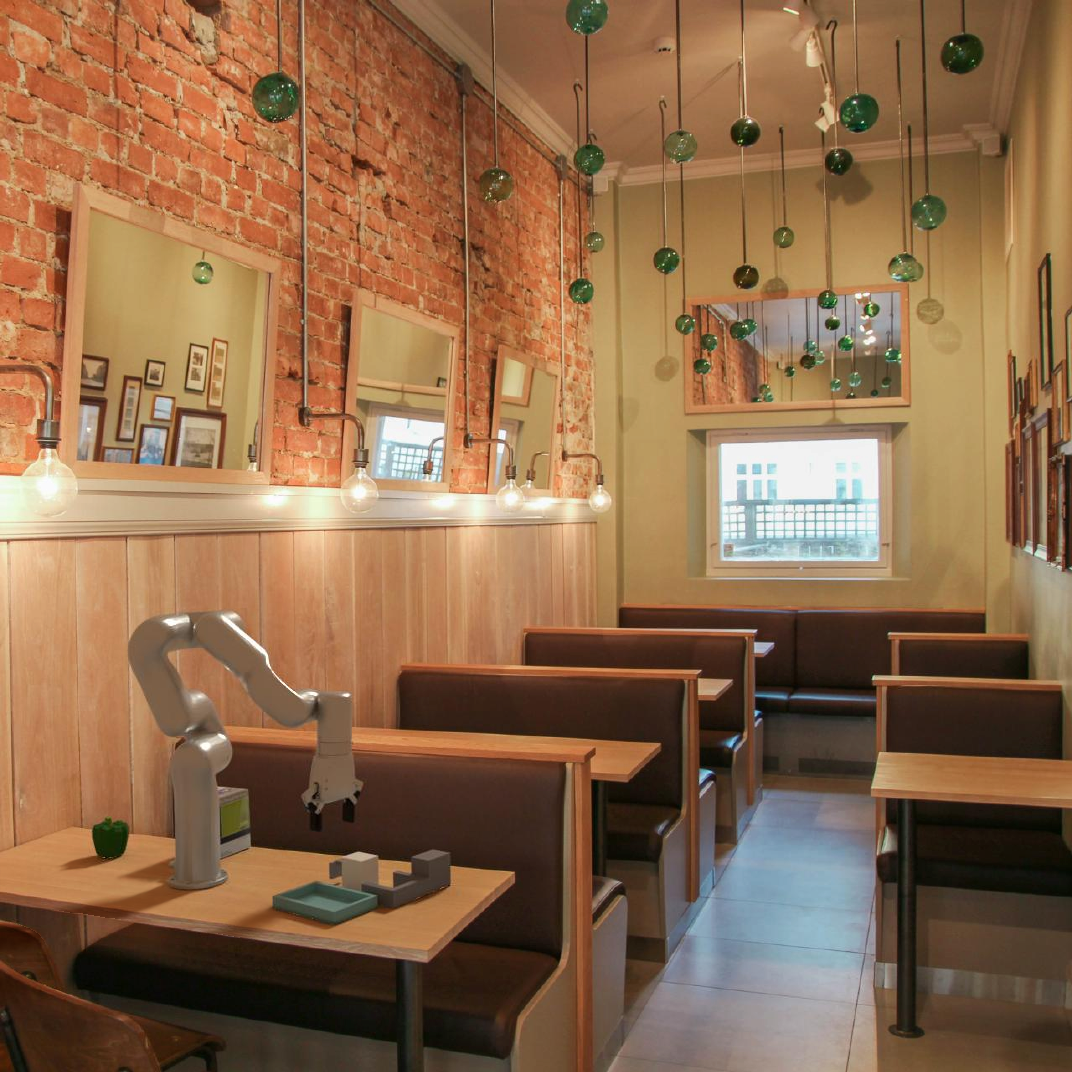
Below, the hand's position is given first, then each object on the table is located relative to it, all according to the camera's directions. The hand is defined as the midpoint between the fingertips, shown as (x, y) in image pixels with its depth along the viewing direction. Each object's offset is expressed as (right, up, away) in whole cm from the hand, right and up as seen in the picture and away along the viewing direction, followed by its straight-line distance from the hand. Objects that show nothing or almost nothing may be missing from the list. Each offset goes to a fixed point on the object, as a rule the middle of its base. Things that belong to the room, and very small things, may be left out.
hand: (332, 826), depth 244 cm
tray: (+2, -12, -17) cm, 21 cm away
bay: (+17, -12, -8) cm, 22 cm away
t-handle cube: (+5, -12, -3) cm, 14 cm away
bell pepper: (-58, -14, +24) cm, 64 cm away
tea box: (-33, -13, +24) cm, 43 cm away
